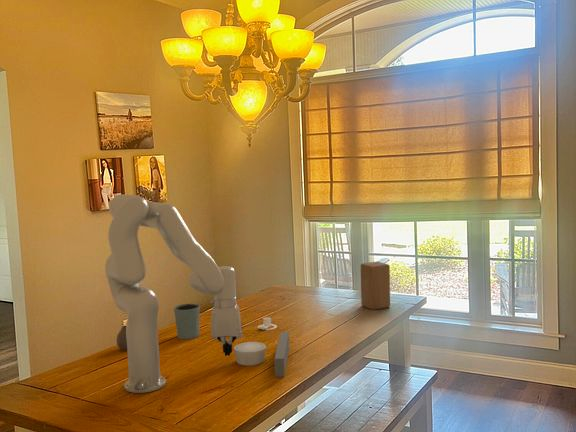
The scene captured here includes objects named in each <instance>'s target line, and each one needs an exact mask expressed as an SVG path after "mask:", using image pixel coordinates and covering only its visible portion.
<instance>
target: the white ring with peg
mask: <svg viewBox="0 0 576 432" xmlns="http://www.w3.org/2000/svg"><path fill="white" fill-rule="evenodd" d="M262 320H263V321H262V322H263V324H260V325H258V326H257V329H259V330H261V331H262V330H263V331H270V330H274V329H277V327H278V325H276V324H273V323H272V318H271V317H269V316H267V317H263V318H262ZM271 326H273V327H271ZM270 327H271V328H270Z"/></svg>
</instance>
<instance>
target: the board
mask: <svg viewBox="0 0 576 432" xmlns="http://www.w3.org/2000/svg"><path fill="white" fill-rule="evenodd" d="M289 352H290V331H280V335H279V338H278V341H277V348H276V351H275V354H274V377H276V378H277V377H279V378H284V377H285V375H286V370H287V364H288V358H289Z"/></svg>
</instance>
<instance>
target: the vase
mask: <svg viewBox="0 0 576 432" xmlns="http://www.w3.org/2000/svg"><path fill="white" fill-rule="evenodd" d="M116 345H117V348H118V349H119V350H121V351H127V339H126V325H122V326H121V329H120V330H119V332H118V333H117V336H116Z"/></svg>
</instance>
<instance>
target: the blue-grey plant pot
mask: <svg viewBox="0 0 576 432" xmlns="http://www.w3.org/2000/svg"><path fill="white" fill-rule="evenodd" d="M200 309H201V308H200V305H199V304H198V303H197V304H196V303H184V304H183V303H181V304H178V305H176V306H174V307H173V312H174V317H175V327H176V334H177V336H176V337H177V338H178V339H180V340H192V339H195V338H198V337H199V335H200Z"/></svg>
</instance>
